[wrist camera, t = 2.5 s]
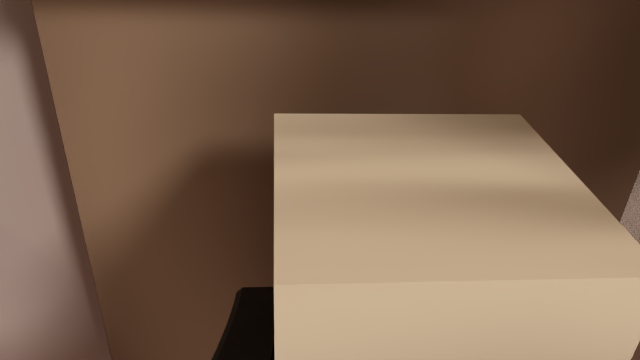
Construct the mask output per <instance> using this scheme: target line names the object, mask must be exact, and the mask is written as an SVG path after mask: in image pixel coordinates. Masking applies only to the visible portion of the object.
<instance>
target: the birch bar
mask: <svg viewBox="0 0 640 360" xmlns="http://www.w3.org/2000/svg"><path fill="white" fill-rule="evenodd" d="M639 341H640V244H639V243H638V242H637V241H636V240H635V239H634V238H633V237H632V236H631V234H630V233H629V232H628V231H627V230H626V229H625V228H624V227H623V226H622V225H621V224H620V222H619V221H618V220H617V219H616V218H615V217H614V216H613V215H612V214H611V213H610V212H609V211H608V209H607V208H606V207H605V206H604V205H603V204H602V203H601V202H600V201H599V200H598V199H597V197H596V196H595V195H594V194H593V193H592V192H591V191H590V190H589V189H588V188H587V187H586V186H585V184H584V183H583V182H582V181H581V180H580V179H579V178H578V177H577V176H576V175H575V174H574V172H573V171H572V170H571V169H570V168H569V167H568V166H567V165H566V164H565V163H564V162H563V161H562V159H561V158H560V157H559V156H558V155H557V154H556V153H555V152H554V151H553V150H552V149H551V147H550V146H549V145H548V144H547V143H546V142H545V141H544V140H543V139H542V138H541V137H540V136H539V134H538V133H537V132H536V131H535V130H534V129H533V128H532V127H531V126H530V125H529V124H528V122H527V121H526V120H525V119H524V118H523V117H522V116H521V115H520V114H274V353H275V360H631V358H632V356H633V354H634V352H635V350H636V348H637V346H638V343H639Z"/></svg>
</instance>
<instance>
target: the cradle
mask: <svg viewBox="0 0 640 360" xmlns="http://www.w3.org/2000/svg"><path fill="white" fill-rule="evenodd" d="M31 2H32V7H33V11H34V16H35V20H36V25H37V29H38V34H39V38H40V42H41V47H42V51H43V56H44V60H45V65H46V69H47V74H48V78H49V82H50V87H51V91H52V96H53V100H54V105H55V109H56V114H57V118H58V122H59V127H60V131H61V136H62V140H63V145H64V149H65V154H66V158H67V162H68V167H69V171H70V176H71V180H72V185H73V189H74V194H75V198H76V202H77V207H78V211H79V216H80V220H81V225H82V229H83V234H84V238H85V242H86V247H87V251H88V256H89V260H90V265H91V269H92V274H93V278H94V282H95V287H96V291H97V296H98V300H99V305H100V309H101V314H102V318H103V322H104V327H105V331H106V336H107V340H108V345H109V349H110V354H111V358H112V360H211V359H212V357H213V355H214V353H215V351H216V349H217V346H218V344H219V342H220V339H221V337H222V334H223V332H224V330H225V327H226V324H227V322H228V319H229V316H230V313H231V310H232V307H233V304H234V300H235V296H236V292H237V291H239V290H240V289H241V288H242V287H274V114H520V115H521V116H522V117H523V118H524V119H525V120H526V121H527V122H528V124H529V125H530V126H531V127H532V128H533V129H534V130H535V131H536V132H537V133H538V134H539V136H540V137H541V138H542V139H543V140H544V141H545V142H546V143H547V144H548V145H549V146H550V147H551V149H552V150H553V151H554V152H555V153H556V154H557V155H558V156H559V157H560V158H561V159H562V161H563V162H564V163H565V164H566V165H567V166H568V167H569V168H570V169H571V170H572V171H573V172H574V174H575V175H576V176H577V177H578V178H579V179H580V180H581V181H582V182H583V183H584V184H585V186H586V187H587V188H588V189H589V190H590V191H591V192H592V193H593V194H594V195H595V196H596V197H597V199H598V200H599V201H600V202H601V203H602V204H603V205H604V206H605V207H606V208H607V209H608V211H609V212H610V213H611V214H612V215H613V216H614V217H615V218H616V219H617V220H618V221H619V222H620V220H621V217H622V214H623V212H624V209H625V207H626V204H627V201H628V199H629V196H630V193H631V191H632V188H633V186H634V183H635V180H636V178H637V175H638V172H639V170H640V0H31Z"/></svg>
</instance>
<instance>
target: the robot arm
mask: <svg viewBox="0 0 640 360" xmlns="http://www.w3.org/2000/svg"><path fill="white" fill-rule="evenodd" d="M211 360H275V353H274V287H242V288H241V289H240V290H239V291H237V292H236V296H235V300H234V304H233V307H232V310H231V313H230V316H229V319H228V322H227V324H226V327H225V330H224V332H223V334H222V337H221V339H220V342H219V344H218V346H217V349H216V351H215V353H214V355H213V357H212V359H211Z"/></svg>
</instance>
